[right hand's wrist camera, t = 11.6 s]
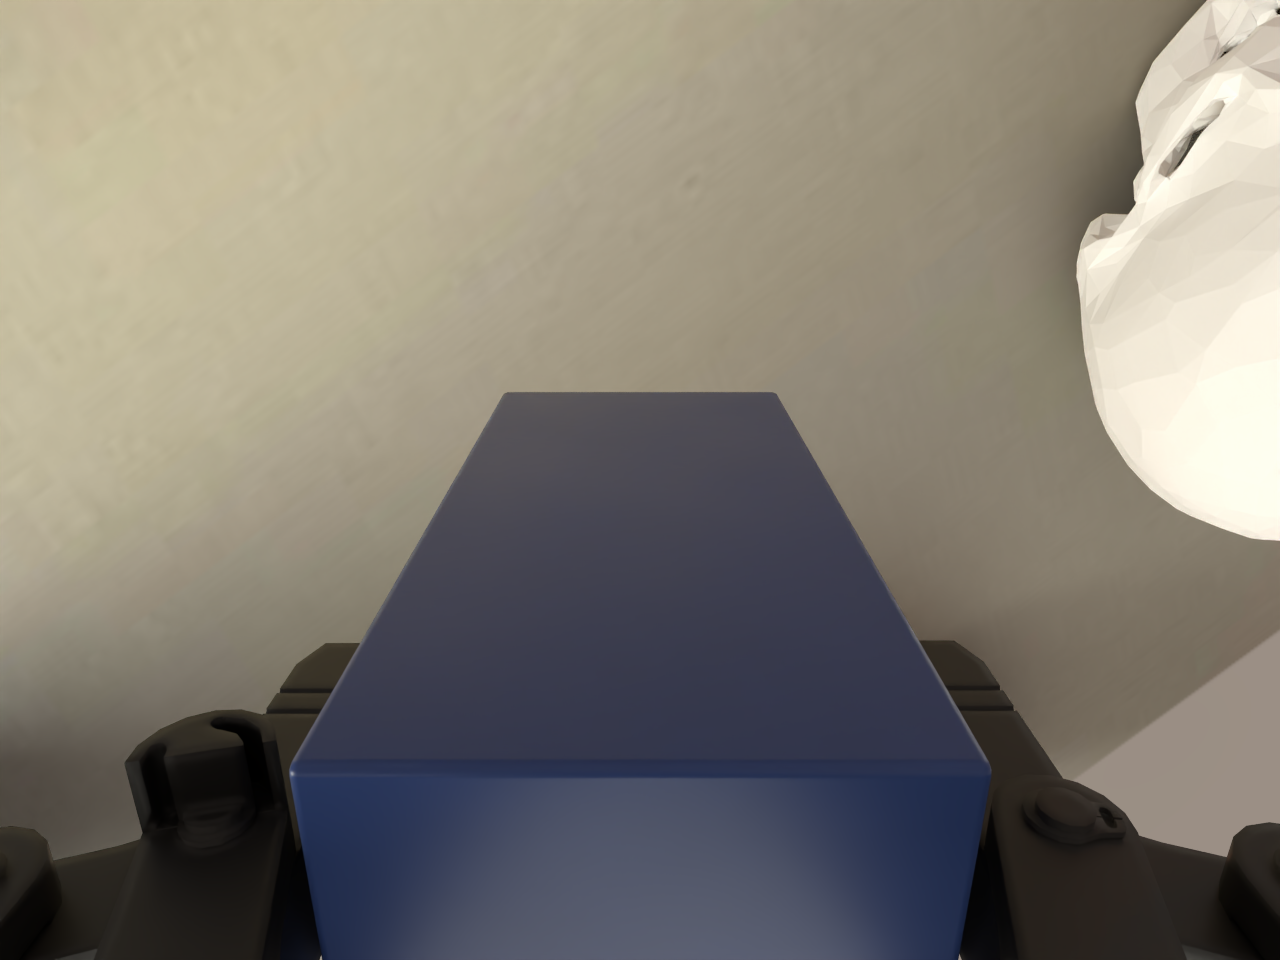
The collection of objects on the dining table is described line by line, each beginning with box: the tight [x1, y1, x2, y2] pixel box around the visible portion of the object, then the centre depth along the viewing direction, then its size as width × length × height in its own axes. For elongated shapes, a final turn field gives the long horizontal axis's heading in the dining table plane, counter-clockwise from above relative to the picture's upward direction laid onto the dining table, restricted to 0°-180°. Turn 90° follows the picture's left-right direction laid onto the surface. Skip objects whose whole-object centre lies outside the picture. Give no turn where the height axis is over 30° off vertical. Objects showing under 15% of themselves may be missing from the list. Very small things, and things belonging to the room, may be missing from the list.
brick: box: [289, 392, 991, 960], centre depth 12 cm, size 5×6×10 cm
